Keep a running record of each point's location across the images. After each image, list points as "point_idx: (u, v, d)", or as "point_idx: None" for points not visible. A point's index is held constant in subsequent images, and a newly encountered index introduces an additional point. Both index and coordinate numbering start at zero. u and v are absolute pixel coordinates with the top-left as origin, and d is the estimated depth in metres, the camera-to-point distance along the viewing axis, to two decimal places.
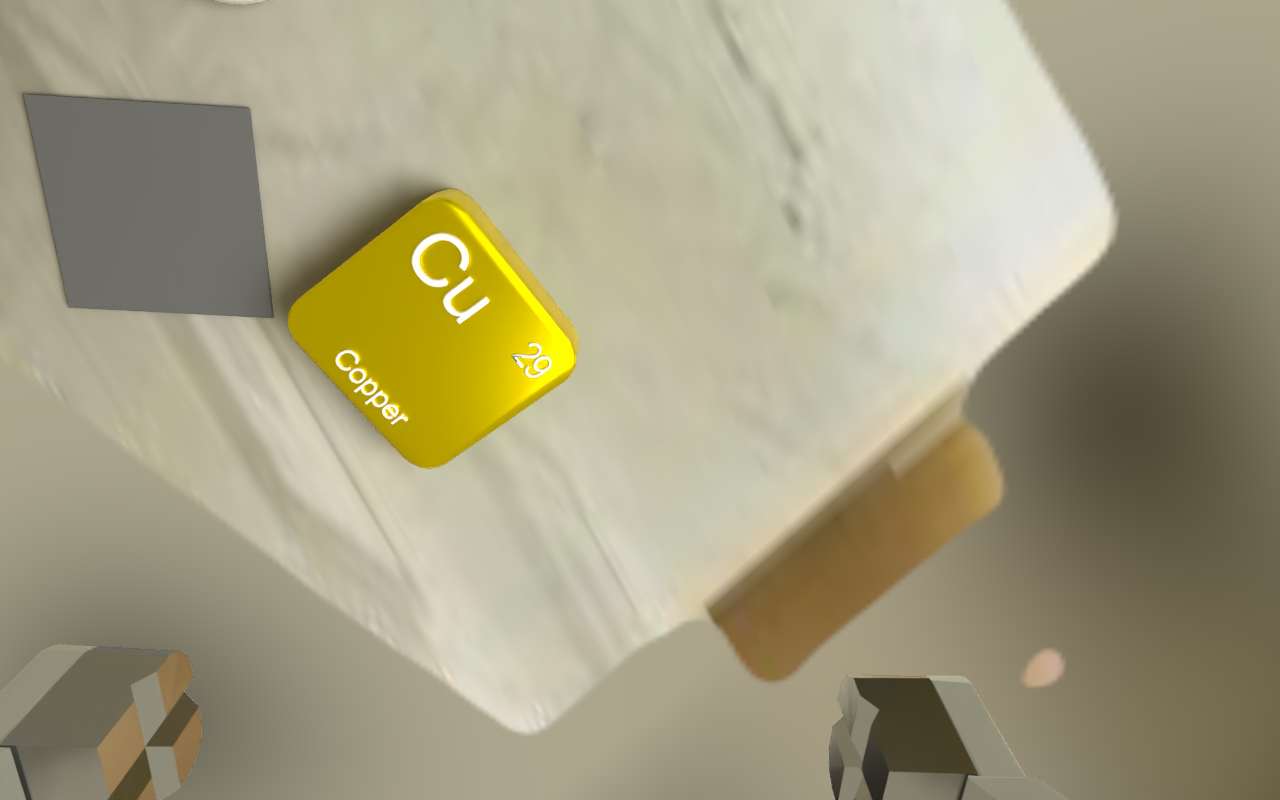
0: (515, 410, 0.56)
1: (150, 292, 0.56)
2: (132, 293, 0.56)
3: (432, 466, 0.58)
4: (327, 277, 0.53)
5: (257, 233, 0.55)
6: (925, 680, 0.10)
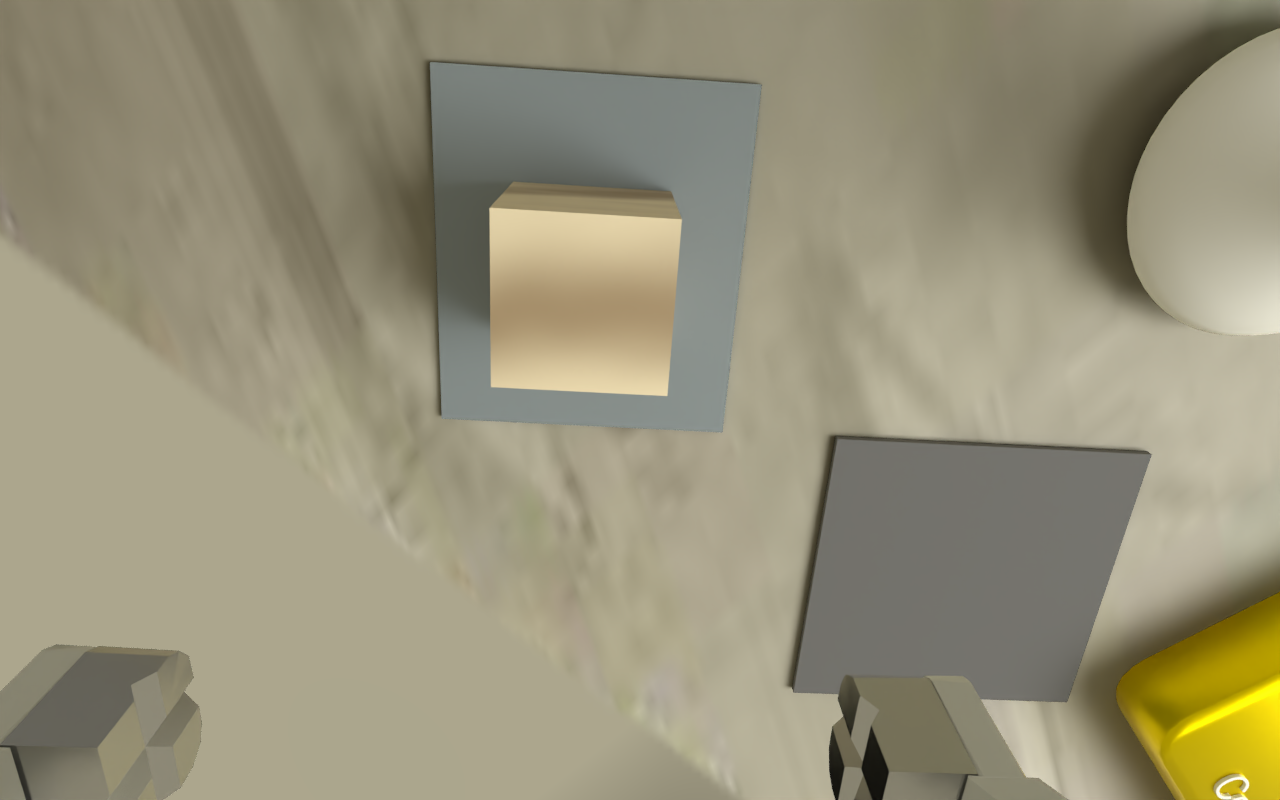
0: None
1: (913, 674, 0.40)
2: None
3: None
4: (1248, 688, 0.36)
5: (1093, 605, 0.39)
6: (927, 681, 0.10)
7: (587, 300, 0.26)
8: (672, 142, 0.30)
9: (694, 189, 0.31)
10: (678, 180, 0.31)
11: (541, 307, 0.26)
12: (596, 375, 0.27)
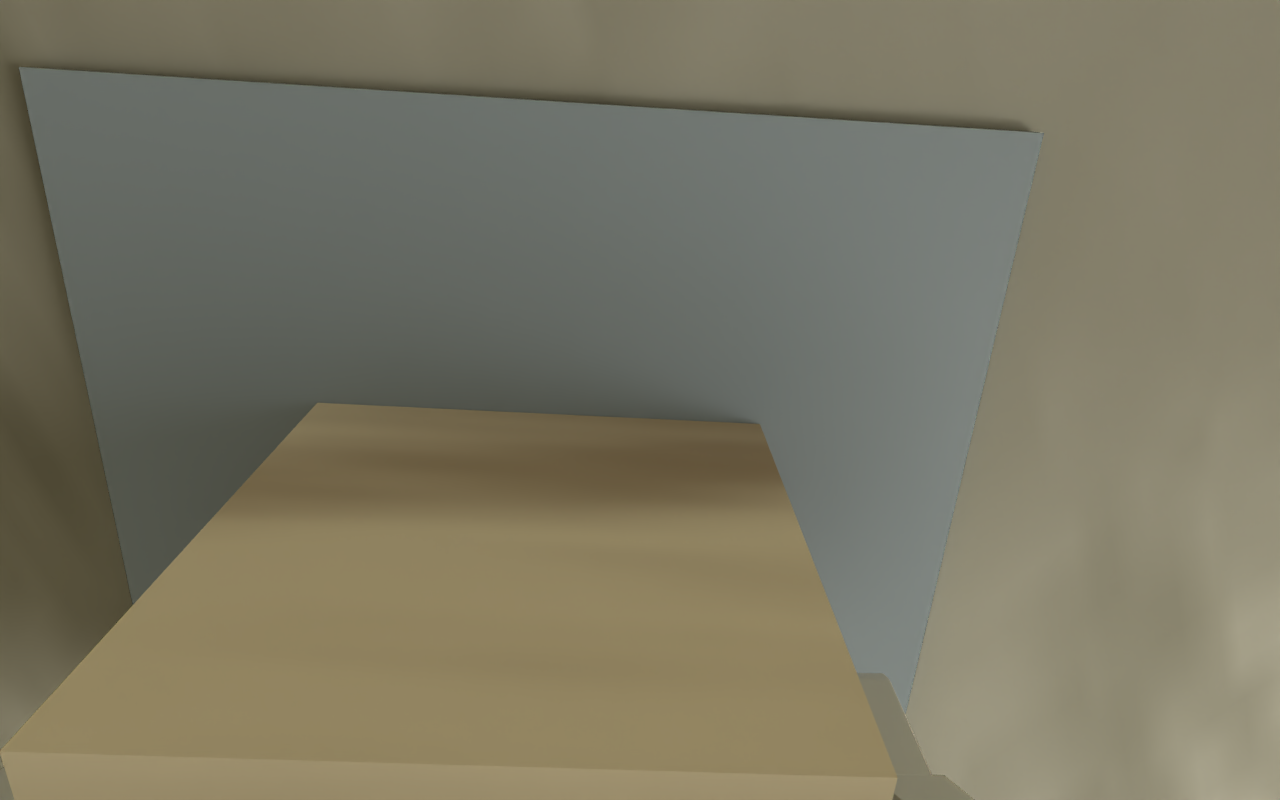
0: None
1: None
2: None
3: None
4: None
5: None
6: None
7: None
8: (767, 297, 0.10)
9: (823, 419, 0.11)
10: (781, 397, 0.11)
11: None
12: None
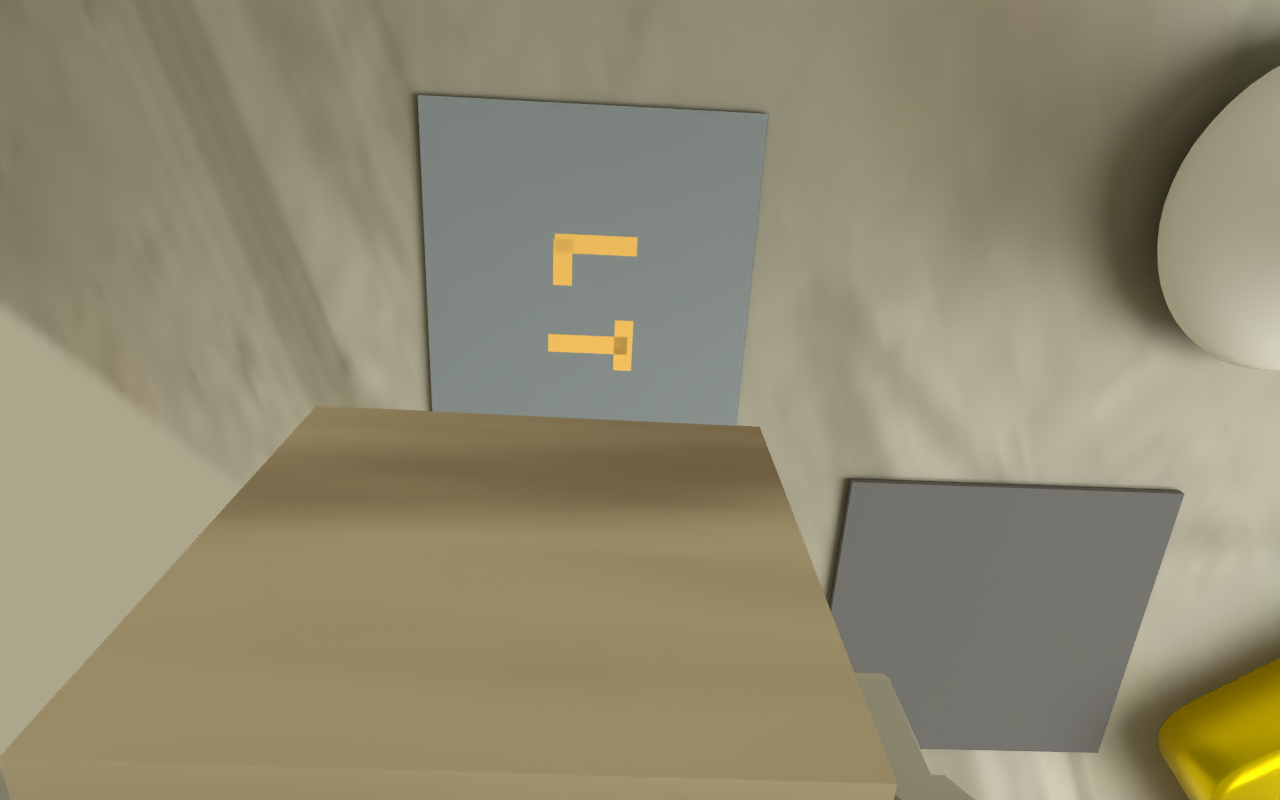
0: None
1: (935, 726, 0.38)
2: None
3: None
4: None
5: (1124, 651, 0.37)
6: None
7: None
8: (674, 175, 0.29)
9: (698, 224, 0.29)
10: (682, 215, 0.29)
11: None
12: None
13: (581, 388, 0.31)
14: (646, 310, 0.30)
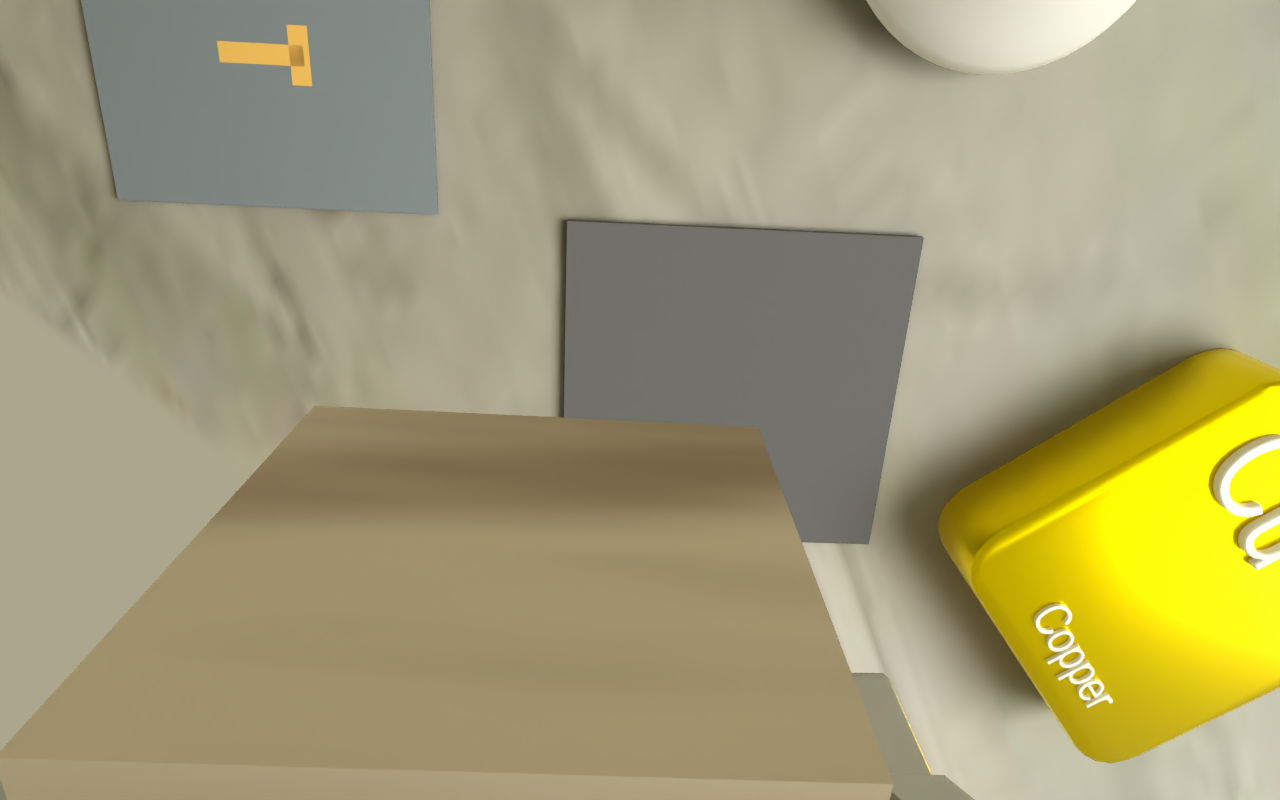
0: (1278, 686, 0.36)
1: None
2: None
3: (1118, 761, 0.38)
4: (1061, 498, 0.32)
5: (882, 424, 0.35)
6: None
7: None
8: None
9: None
10: None
11: None
12: None
13: (262, 107, 0.30)
14: (318, 13, 0.28)
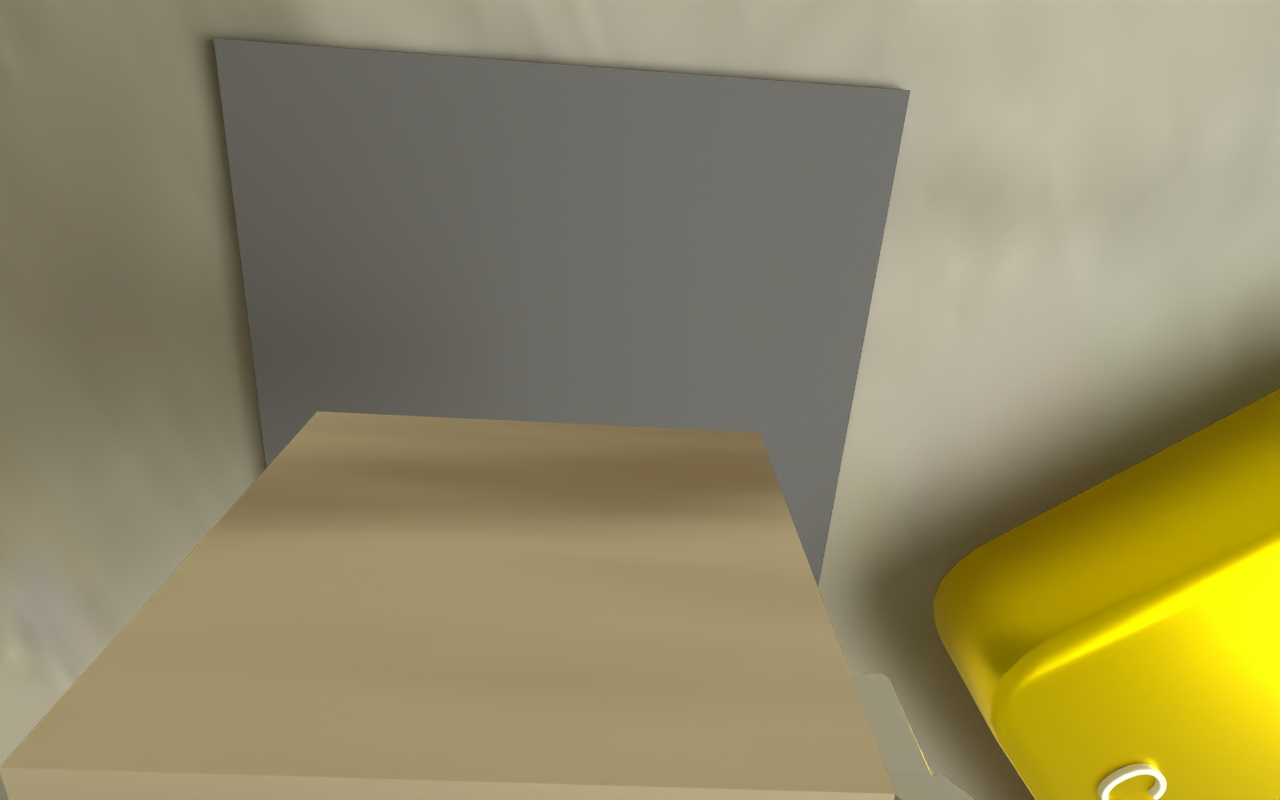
0: None
1: None
2: None
3: None
4: (1166, 584, 0.17)
5: (831, 442, 0.20)
6: None
7: None
8: None
9: None
10: None
11: None
12: None
13: None
14: None
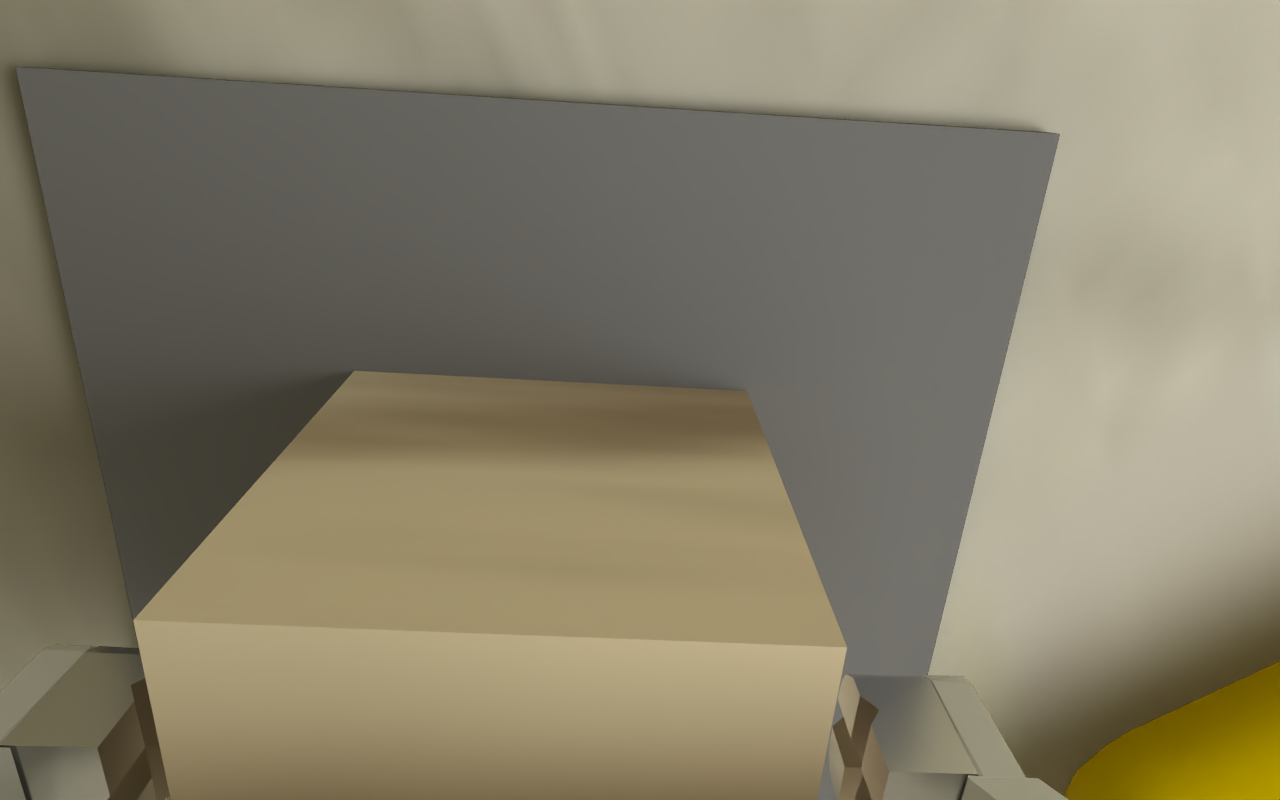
0: None
1: None
2: None
3: None
4: None
5: (924, 613, 0.14)
6: (925, 680, 0.10)
7: None
8: None
9: None
10: None
11: None
12: None
13: None
14: None
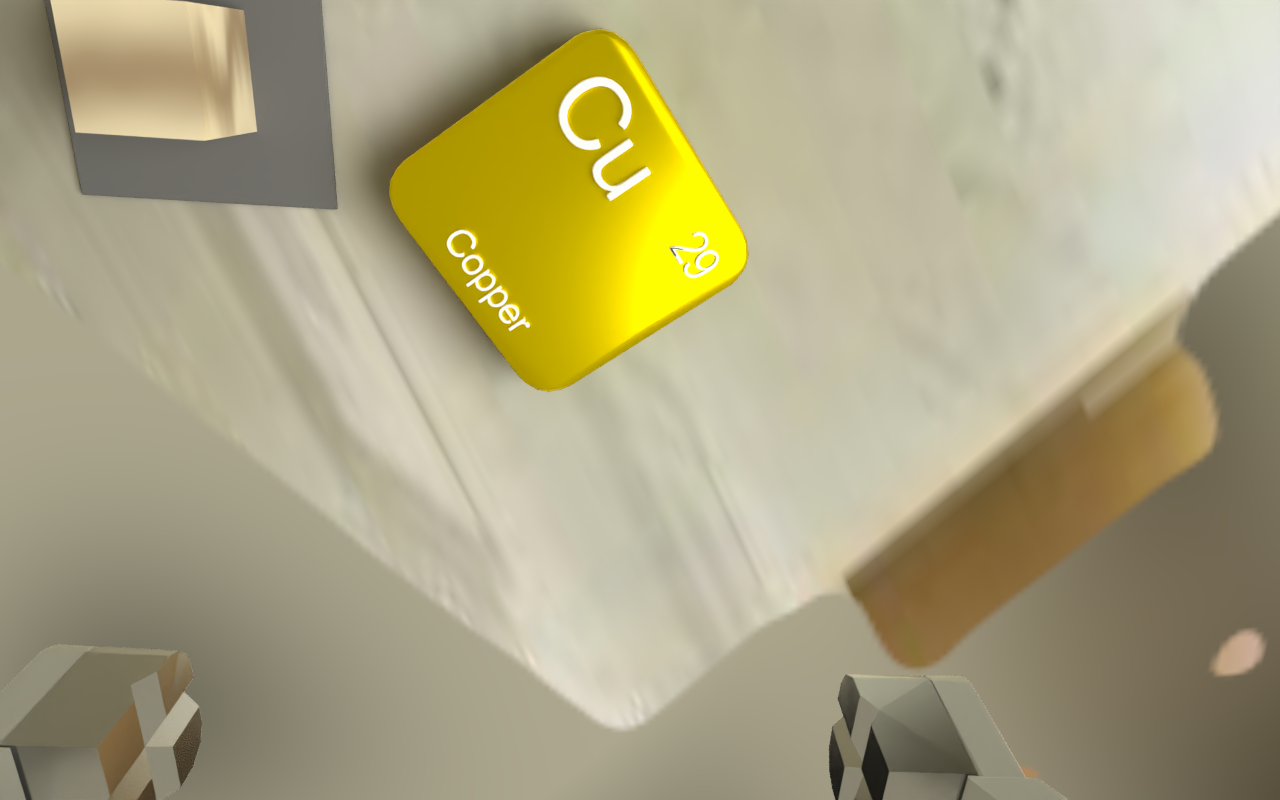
0: (665, 320, 0.45)
1: (184, 175, 0.45)
2: (162, 176, 0.45)
3: (553, 388, 0.46)
4: (446, 131, 0.41)
5: (320, 97, 0.44)
6: (926, 681, 0.10)
7: (131, 63, 0.37)
8: None
9: None
10: None
11: (100, 69, 0.37)
12: (150, 123, 0.38)
13: None
14: None
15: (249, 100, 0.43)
